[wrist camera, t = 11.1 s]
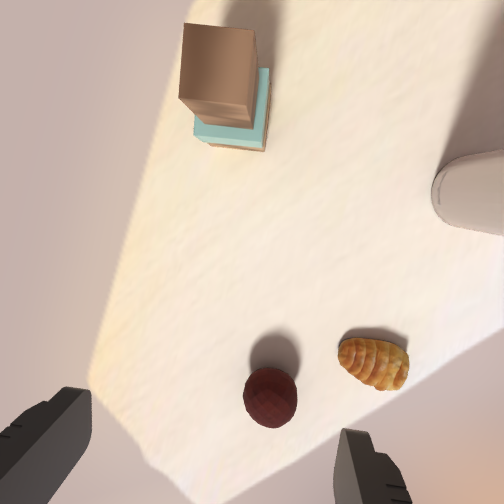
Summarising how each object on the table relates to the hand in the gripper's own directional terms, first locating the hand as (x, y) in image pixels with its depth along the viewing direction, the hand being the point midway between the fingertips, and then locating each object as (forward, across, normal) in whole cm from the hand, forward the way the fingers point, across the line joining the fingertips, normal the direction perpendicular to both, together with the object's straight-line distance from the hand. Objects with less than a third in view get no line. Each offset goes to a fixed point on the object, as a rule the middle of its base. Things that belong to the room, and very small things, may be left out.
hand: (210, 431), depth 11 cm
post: (+27, +5, -15) cm, 31 cm away
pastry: (+37, -17, +16) cm, 44 cm away
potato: (+36, -3, +22) cm, 42 cm away
